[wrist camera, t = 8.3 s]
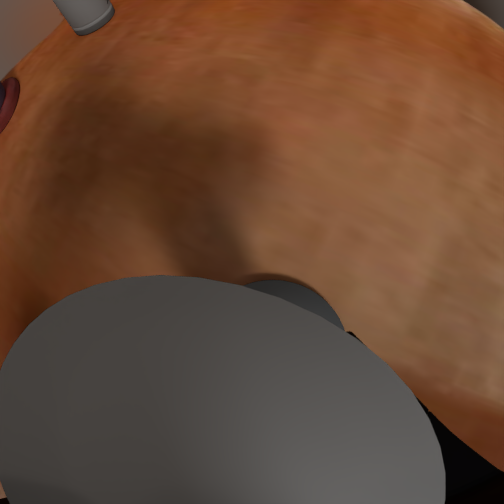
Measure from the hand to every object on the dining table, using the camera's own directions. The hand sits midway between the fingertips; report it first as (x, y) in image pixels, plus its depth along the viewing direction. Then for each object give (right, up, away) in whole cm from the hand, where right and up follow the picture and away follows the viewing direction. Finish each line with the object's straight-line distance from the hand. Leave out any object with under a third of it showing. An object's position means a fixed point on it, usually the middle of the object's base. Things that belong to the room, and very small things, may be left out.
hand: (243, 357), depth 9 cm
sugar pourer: (+1, -3, +6) cm, 7 cm away
